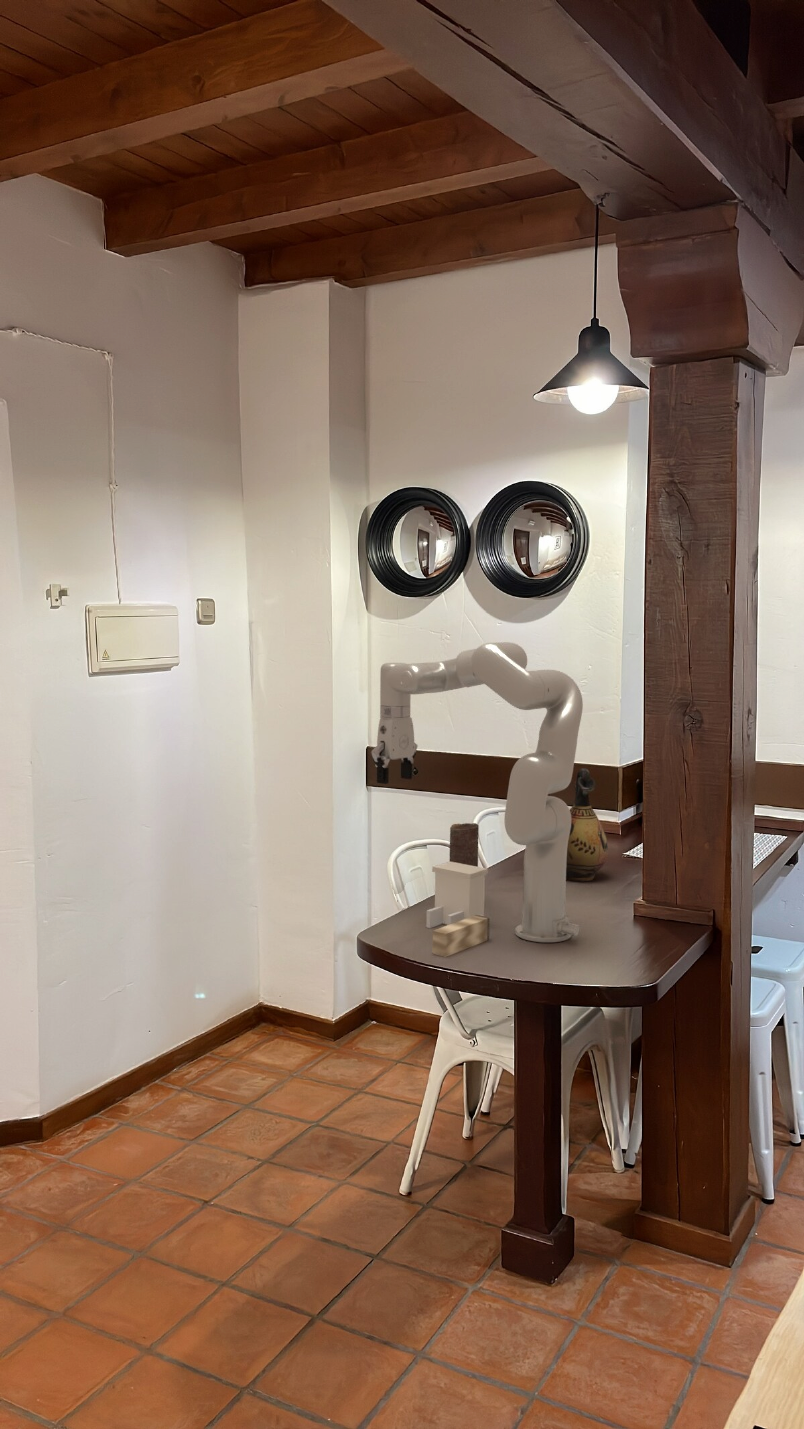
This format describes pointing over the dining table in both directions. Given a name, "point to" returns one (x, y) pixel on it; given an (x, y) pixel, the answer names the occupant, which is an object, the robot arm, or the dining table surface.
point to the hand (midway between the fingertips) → (394, 780)
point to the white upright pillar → (457, 893)
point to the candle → (464, 843)
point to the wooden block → (460, 935)
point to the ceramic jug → (585, 834)
